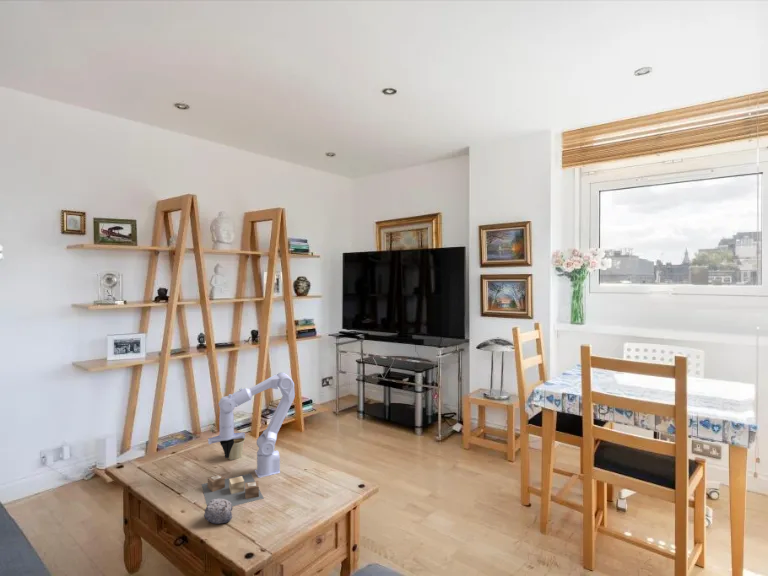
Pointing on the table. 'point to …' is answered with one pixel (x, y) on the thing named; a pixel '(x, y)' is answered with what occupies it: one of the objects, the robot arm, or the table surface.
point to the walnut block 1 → (216, 482)
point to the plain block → (236, 484)
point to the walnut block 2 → (251, 490)
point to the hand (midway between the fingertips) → (226, 457)
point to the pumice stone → (218, 511)
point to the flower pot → (236, 449)
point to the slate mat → (226, 494)
